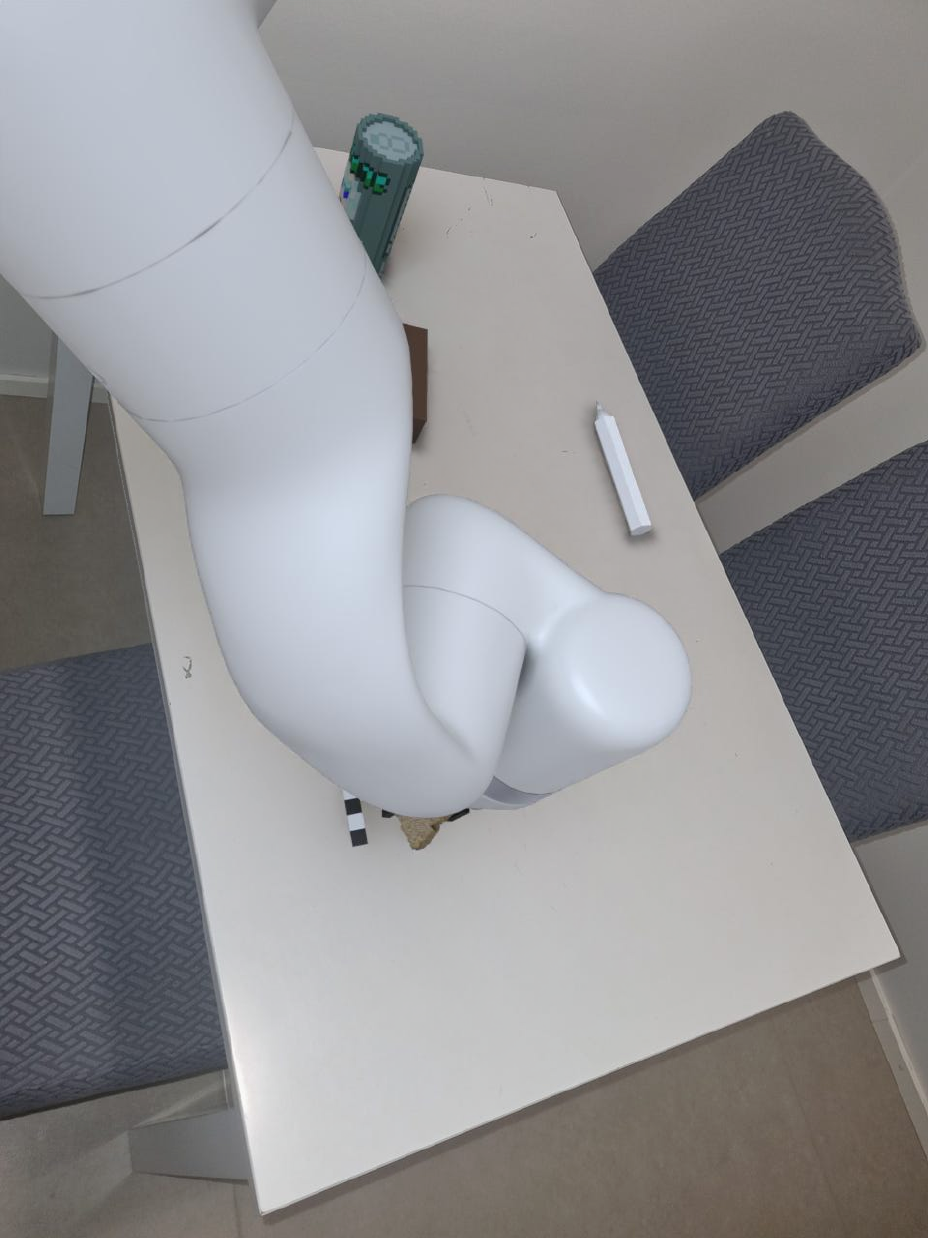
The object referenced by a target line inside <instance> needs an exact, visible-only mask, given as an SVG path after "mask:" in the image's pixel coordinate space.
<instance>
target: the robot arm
mask: <svg viewBox="0 0 928 1238" xmlns="http://www.w3.org/2000/svg"><path fill="white" fill-rule="evenodd" d="M277 1H278V0H0V275H1V276H2V277H3V278H4V279H5V281H6V282H7V283H8V284H9V285H10V286H11V287H13V288H14V289H15V290H16V292H17V293H18V294H19V295H20V296H21V297H22V298H23V299H24V301H25V302H27V304H28V305H29V306H30V307H31V308H32V310H33V311H35V313H36V314H37V315H38V316H39V317H40V319H42V321H43V322H45V324H46V325H47V326H48V327H49V328H50V329H51V330H52V332H54V333H55V335H56V336H57V337H58V338H59V339H60V340H61V341H62V343H63V344H64V345H65V346H66V347H67V349H69V350H70V352H72V354H73V355H74V356H75V357H76V359H78V360H79V361H80V362H81V364H82V365H83V366H84V367H85V368H86V369H87V370H88V371H89V372H90V374H91V375H92V376H93V377H94V378H95V379H96V380H97V381H98V382H99V383H100V384H101V385H102V386H103V387H104V388H105V390H106V391H107V392H108V393H109V394H110V395H111V396H112V397H113V398H114V400H116V403H117V404H118V405H119V406H120V407H121V408H122V409H123V410H124V411H125V412H126V414H128V415H129V416H130V417H131V418H132V420H134V421H135V423H136V424H137V425H138V426H139V428H141V430H143V432H145V434H147V435H148V437H149V438H150V439H151V440H152V441H153V442H154V443H155V444H156V445H157V446H158V447H159V448H160V450H161V451H162V452H163V453H164V454H165V456H167V458H168V459H169V461H170V462H171V463H172V465H173V466H174V469H175V470H176V471H177V474H178V476H179V479H180V484H181V488H182V492H183V500H184V506H185V513H186V521H187V527H188V534H189V539H190V544H191V549H192V554H193V559H194V562H195V567H196V571H197V575H198V579H199V582H200V586H201V591H202V594H203V597H204V601H205V604H206V608H207V611H208V614H209V617H210V620H211V622H212V626H213V631H214V634H215V637H216V640H217V644H218V647H219V651H220V653H221V655H222V658H223V661H224V664H225V666H226V669H227V671H228V674H229V676H230V678H231V680H232V682H233V684H234V686H235V688H236V690H237V692H238V694H239V696H240V697H241V699H242V700H243V702H244V703H245V705H246V707H247V708H248V709H249V711H250V712H251V714H252V715H253V716H254V717H255V718H256V720H257V721H258V722H259V723H260V724H261V725H262V726H263V727H264V728H265V729H266V730H267V731H268V732H269V733H270V734H271V735H273V736H274V737H275V739H277V740H278V741H280V743H282V744H283V745H284V746H286V747H287V748H288V749H289V750H291V751H292V752H293V753H294V754H295V755H296V756H297V757H299V758H300V759H302V761H304V762H305V763H307V764H308V765H309V766H310V767H312V768H313V769H314V770H315V771H317V772H318V773H319V774H320V775H322V776H323V777H324V778H325V779H327V780H328V781H330V783H333V784H334V785H335V786H337V787H338V788H340V789H341V790H342V789H343V790H345V791H346V792H348V793H350V794H351V795H353V796H355V797H357V798H358V799H360V801H362V802H363V803H365V804H368V805H370V806H373V807H374V808H377V809H379V810H381V818H383V819H390V818H393V817H394V816H396V814H399V815H404V816H409V817H419V818H435V817H443V816H447V815H450V814H453V815H452V816H451V817H450V818H449V819H448V820H447V821H446V822H445V823H447V822H448V823H453V822H455V821H457V820H458V819H460V818H462V817H464V816H466V815H468V814H470V810H478V811H479V810H480V811H481V810H496V811H511V810H513V811H515V810H520V809H523V808H526V807H529V806H531V805H533V804H536V803H538V802H540V801H543V799H545V798H548V797H549V796H552V795H554V794H556V793H558V792H560V791H562V790H564V789H566V788H568V787H570V786H573V785H575V784H577V783H580V782H582V781H584V780H587V779H588V778H591V777H594V776H595V775H598V774H599V773H601V772H604V771H606V770H608V769H611V768H613V767H615V766H617V765H619V764H622V763H623V762H625V761H628V760H630V759H632V758H635V757H637V756H639V755H641V754H643V753H646V752H647V751H650V750H652V749H653V748H655V747H657V746H658V745H660V744H661V743H663V742H664V741H666V740H667V739H668V738H670V736H671V735H672V734H673V733H674V732H675V731H676V729H677V728H678V727H679V726H680V725H681V722H682V721H683V719H684V717H685V716H686V713H687V712H688V709H689V706H690V702H691V700H692V691H693V673H692V666H691V661H690V657H689V655H688V651H687V649H686V646H685V645H684V642H683V641H682V638H681V637H680V635H679V633H678V632H677V631H676V629H675V628H674V627H673V625H672V624H671V623H670V621H668V620H667V618H666V617H665V616H663V614H661V613H660V612H659V611H658V610H656V609H655V608H654V607H652V606H651V605H649V604H647V602H644V601H642V600H640V599H638V598H635V597H632V596H631V595H627V594H623V593H619V592H613V591H612V592H611V591H606V590H604V589H603V588H601V587H599V586H598V585H597V584H595V583H594V582H592V581H591V580H590V579H588V578H587V577H585V576H584V575H583V574H581V573H580V572H578V570H576V569H575V568H573V566H571V565H569V564H568V563H567V562H566V561H564V560H563V559H562V558H560V556H558V555H557V554H555V553H554V552H553V551H551V550H550V549H549V548H547V547H546V546H545V545H544V544H543V543H541V542H540V541H538V540H537V539H536V538H535V537H533V536H532V535H531V534H530V533H529V532H527V531H526V530H524V529H523V528H522V527H520V526H519V524H516V522H513V520H510V519H509V518H507V517H506V516H504V515H502V514H501V513H499V511H496V510H494V509H492V508H491V507H489V506H487V505H485V504H483V503H481V502H478V501H476V500H473V499H470V498H467V497H464V496H460V495H454V494H445V493H436V494H430V495H429V494H428V495H425V496H422V497H420V498H418V499H416V500H413V501H412V502H410V503H409V504H408V498H409V497H408V496H409V485H410V476H411V465H412V449H413V448H412V447H413V443H412V434H413V399H412V375H411V364H410V352H409V345H408V342H407V338H406V334H405V330H404V327H403V324H402V323H403V321H402V318H401V316H400V315H399V312H398V311H397V309H396V307H395V305H394V303H393V301H392V299H391V297H390V295H389V293H388V292H387V290H386V288H385V286H384V285H383V282H382V281H381V278H380V279H379V277H378V275H377V273H376V271H375V269H374V267H373V265H372V262H371V260H370V258H369V256H368V254H367V252H366V250H365V248H364V246H363V244H362V242H361V241H360V239H359V238H358V236H357V234H356V232H355V230H354V228H353V226H352V224H351V222H350V220H349V218H348V216H347V214H346V212H345V210H344V208H343V206H342V204H341V202H340V200H339V198H338V196H339V195H338V193H337V192H336V189H335V188H334V186H333V184H332V182H331V180H330V178H329V176H328V174H327V172H326V170H325V168H324V166H323V164H322V161H321V160H320V157H319V156H318V154H317V152H316V149H315V148H314V146H313V143H312V141H311V139H310V138H309V136H308V134H307V131H306V130H305V127H304V125H303V123H302V122H301V119H300V117H299V116H298V113H297V111H296V108H294V105H293V101H292V100H291V98H290V95H289V93H288V92H287V90H286V88H285V86H284V84H283V82H282V80H281V77H280V76H279V74H278V72H277V70H276V68H275V66H274V64H273V62H272V60H271V59H270V56H269V54H268V53H267V50H266V48H265V45H264V43H263V41H262V39H261V36H260V34H259V29H260V27H261V26H262V24H263V23H264V21H265V20H266V18H267V16H268V15H269V14H270V12H271V10H272V8H274V6H275V4H276V3H277Z"/></svg>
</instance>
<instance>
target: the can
mask: <svg viewBox="0 0 928 1238" xmlns="http://www.w3.org/2000/svg"><path fill="white" fill-rule="evenodd" d="M418 135H419V134H418V131H417V130H414V128H413V126H411V125H409V122H406V121H402V120H400V117H398V116H394V115H390V114H386V113H382V112H377V114H373V113H369V114H368V115H364V117H360V121H359V122H357V124H356V128H355V131H354V134H353V139H352V143H351V147H350V151H349V154H348V157H347V162H346V166H345V170H344V173H343V177H342V181H341V185H340V189H339V192H338V195H337V196H338V198H339V200H340V202H341V204H342V206H343V208H344V210H345V212H346V214H347V216H348V218H349V220H350V222H351V224H352V226H353V228H354V230H355V232H356V234H357V236H358V238H359V239H360V241H361V242H362V244H363V246H364V248H365V250H366V252H367V254H368V256H369V258H370V260H371V262H372V265H373V267H374V269H375V271H376V273H377V275H378V277H379V279H380V280H381V277H382V276H381V275H383V274H384V271H385V268H386V265H387V263H388V259H389V257H390V254H391V251H392V248H393V245H394V242H395V239H396V236H397V234H398V231H399V228H400V226H401V222H402V219H403V216H404V214H405V210H406V207H407V205H408V202H409V199H410V196H411V193H412V190H413V187H414V184H415V182H416V178H417V176H418V173H419V170H420V167H421V165H422V162H423V158H424V156H425V150H424V143H423V137H419V136H418Z"/></svg>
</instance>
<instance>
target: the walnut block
mask: <svg viewBox="0 0 928 1238" xmlns="http://www.w3.org/2000/svg"><path fill="white" fill-rule="evenodd" d="M402 324H403V327H404V330H405V334H406V338H407V342H408V345H409V352H410V364H411V375H412V399H413V434H412V444H416V443H417V441H418V439H419V437H420V435H421V433H422V431H423V429H424V427H425V425H426V423H427V421H428V366H429V365H428V363H429V362H428V355H429V351H428V349H429V347H428V346H429V330H428V328H426V327H425V328H424V327H421V326H416V325H412V324H408V323H405V322H404V323H403V322H402Z"/></svg>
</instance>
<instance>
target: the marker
mask: <svg viewBox="0 0 928 1238" xmlns="http://www.w3.org/2000/svg"><path fill="white" fill-rule="evenodd" d="M595 404H596V407H595V408H596V409H595V410H596V415H595V420H594V422H593V424H594V430H595V433H596V436H597V439H598V442H599V446H600V449H601V451H602V454H603V457H604V460H605V463H606V466H607V469H608V471H609V474H610V478H611V481H612V483H613V487H614V489H615V492H616V495H617V499H618V501H619V504H620V507H621V509H622V513H623V517H624V519H625V521H626V525H627V528H628V531H629V533H630V536H631V537H632V536H641V535H644V534H645V533H647V532H649V531H651V530H652V522H651V520H650V517H649V514H648V511H647V508H646V506H645V503H644V500H643V497H642V494H641V490H640V488H639V485H638V482H637V480H636V477H635V474H634V471H633V468H632V465H631V463H630V459H629V456H628V454H627V450H626V448H625V445H624V443H623V440H622V436H621V433H620V431H619V428H618V425H617V422H616V419H615V417H614V416H613V415H610V414H609V413H607V411H606V410H604V408H603V407H602V406H601V404H600V403H599V402H598V401H597V400H596V401H595Z"/></svg>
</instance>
